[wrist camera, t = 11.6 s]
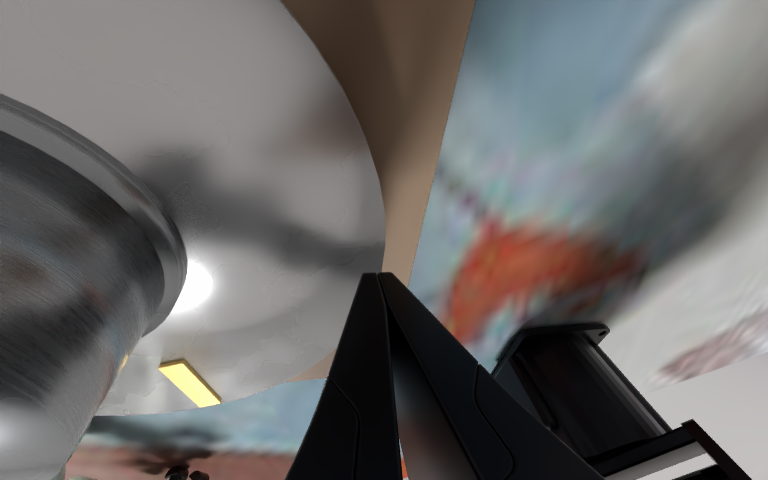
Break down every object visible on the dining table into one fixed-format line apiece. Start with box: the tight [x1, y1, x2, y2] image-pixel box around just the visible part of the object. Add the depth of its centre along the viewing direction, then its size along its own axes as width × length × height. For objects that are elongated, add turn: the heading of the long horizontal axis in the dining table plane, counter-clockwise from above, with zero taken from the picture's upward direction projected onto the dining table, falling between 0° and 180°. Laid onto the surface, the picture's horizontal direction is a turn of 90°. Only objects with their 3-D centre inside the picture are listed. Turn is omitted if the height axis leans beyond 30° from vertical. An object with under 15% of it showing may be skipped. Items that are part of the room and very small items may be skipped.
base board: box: [282, 0, 475, 382], centre depth 9 cm, size 19×19×1 cm
